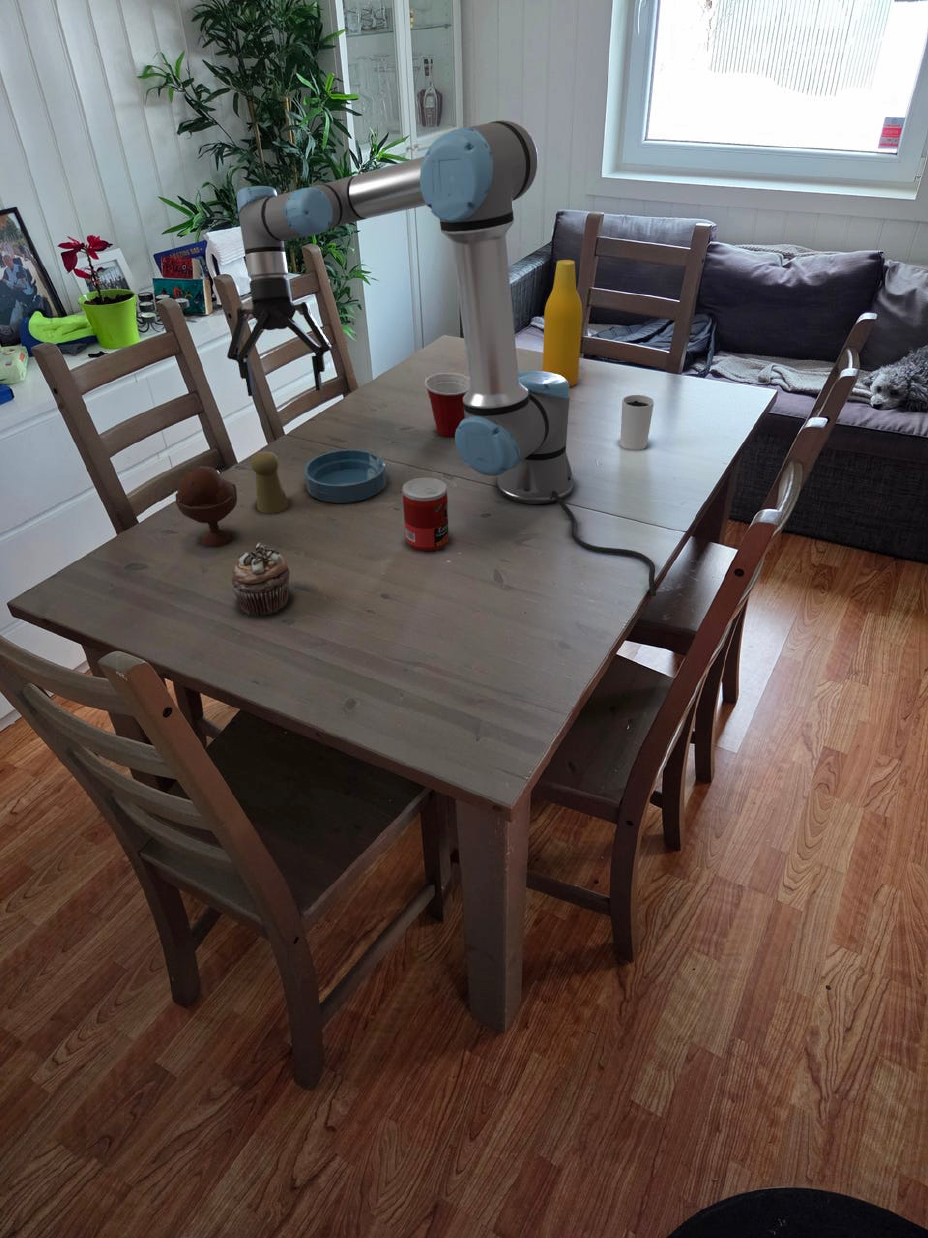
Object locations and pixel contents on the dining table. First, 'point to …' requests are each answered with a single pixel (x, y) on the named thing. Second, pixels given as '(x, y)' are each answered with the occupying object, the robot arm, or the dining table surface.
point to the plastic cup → (447, 400)
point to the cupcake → (261, 581)
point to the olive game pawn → (268, 483)
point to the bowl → (345, 475)
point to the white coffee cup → (636, 421)
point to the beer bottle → (563, 325)
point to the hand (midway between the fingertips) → (285, 392)
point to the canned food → (426, 513)
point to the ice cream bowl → (207, 501)
